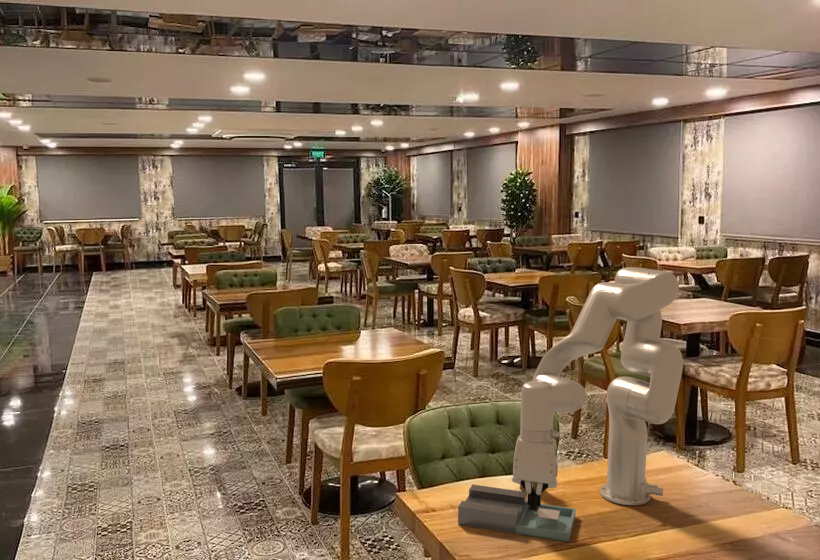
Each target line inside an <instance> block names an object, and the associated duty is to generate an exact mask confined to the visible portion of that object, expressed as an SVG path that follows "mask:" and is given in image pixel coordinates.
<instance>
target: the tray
mask: <svg viewBox="0 0 820 560" xmlns="http://www.w3.org/2000/svg"><path fill="white" fill-rule="evenodd" d="M539 508H544V509H551V510H558V511H560V521H559V525H558V529H557V530H555V529H548V528H542V527H536V515H537V512H538V509H539ZM576 511H577V509H576V508H574V507H573V508H572V507H566V506H558V505H553V504H546V503H541V505H540V506H538V508H537V510H536V511H534V510H530V505H527V502H526V505H525V507H524V509H523V512H522V514H521V517H520V519H519V521H518V524H517V528H516V534H515V535H519V536H520V535H521V536H525V537H526V536H527V537H532V538H533V537H534V538H538V539H546V540H552V541H558V542H563V543H570V539H571V536H572V531H573V527H574V525H575V519H576V515H577V514H576Z"/></svg>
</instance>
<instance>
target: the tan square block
mask: <svg viewBox="0 0 820 560" xmlns="http://www.w3.org/2000/svg"><path fill="white" fill-rule="evenodd" d="M559 521H560V511H558V510H551V509H544V508H539V509H538V512H537V515H536V527H542V528H548V529H555V530H557V529H558V525H559Z"/></svg>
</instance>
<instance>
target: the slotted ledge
mask: <svg viewBox="0 0 820 560" xmlns="http://www.w3.org/2000/svg"><path fill="white" fill-rule="evenodd" d="M527 496H528V493H527V492H523V491H521V490H514V489H509V488H499V487H494V486H486V485H479V484H472V485H471V486H470V487H469V489H468V496H467V498H466V499H465V500H461V501H460V503H459V505H458V506H457V507H458V508H457V509H458V510H457V524H459V525H458V526H465V527H470V528H477V529H482V530H483V529H485V530H490V531H496V532H501V533H502V532H503V533H507V534H508V533H509V534H513V535H517V534H516V528H517V524H518V521H519V519H520V517H521V514H522V512H523V509H524V507H525V505H526V502H527Z"/></svg>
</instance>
